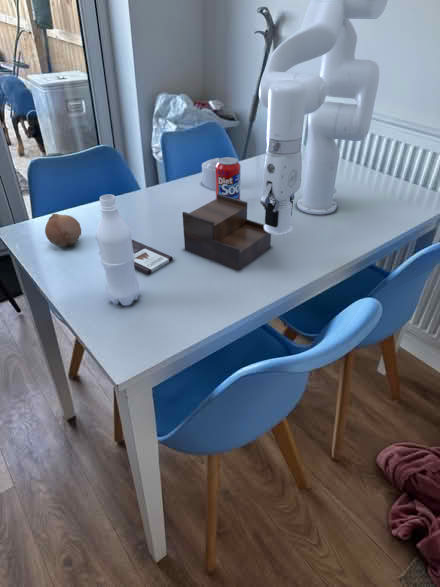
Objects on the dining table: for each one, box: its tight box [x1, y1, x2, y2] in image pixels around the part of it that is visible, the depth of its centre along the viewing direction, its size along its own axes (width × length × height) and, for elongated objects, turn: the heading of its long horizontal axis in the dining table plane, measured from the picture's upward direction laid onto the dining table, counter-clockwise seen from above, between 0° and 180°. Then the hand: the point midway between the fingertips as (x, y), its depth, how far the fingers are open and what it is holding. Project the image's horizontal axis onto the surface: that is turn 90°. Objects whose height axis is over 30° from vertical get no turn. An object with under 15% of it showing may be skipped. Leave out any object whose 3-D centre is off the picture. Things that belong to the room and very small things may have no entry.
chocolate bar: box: [132, 239, 173, 276], centre depth 113 cm, size 9×1×18 cm
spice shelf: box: [181, 194, 272, 272], centre depth 113 cm, size 15×18×11 cm
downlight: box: [264, 194, 293, 236], centre depth 101 cm, size 8×7×10 cm
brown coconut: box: [44, 213, 82, 248], centre depth 117 cm, size 10×9×10 cm
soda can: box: [215, 156, 242, 200], centre depth 135 cm, size 8×8×15 cm
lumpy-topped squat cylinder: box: [201, 157, 221, 191], centre depth 152 cm, size 10×13×9 cm
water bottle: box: [95, 193, 140, 307], centre depth 91 cm, size 7×7×25 cm
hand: (278, 219), depth 102 cm, fingers closed on downlight, 5 cm apart
